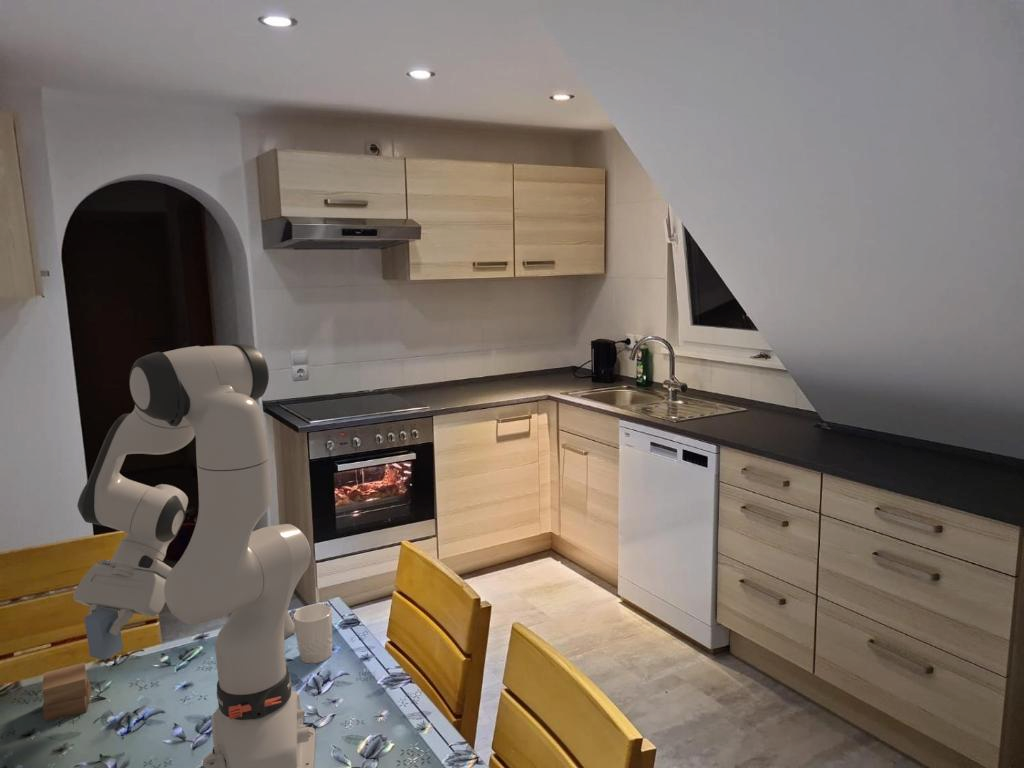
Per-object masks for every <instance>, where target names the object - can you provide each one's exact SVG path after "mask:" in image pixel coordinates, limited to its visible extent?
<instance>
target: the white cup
mask: <svg viewBox="0 0 1024 768" xmlns="http://www.w3.org/2000/svg"><path fill="white" fill-rule="evenodd" d="M332 615H333V614H332V608H331V607H330V606H329V605H327V604H323V603H321V604H320V603H319V604H318V603H316V604H315V603H314V604H309V605H305V606H303V607H302V606H301V607H300V608H299V609H297V610H296V611H295V612H294V613H293V622H294V623H295V636H296V641H297V643H296V644H297V647H298V651H299V658H300V660H301V662H303V663H305V664H318V663H321V662H325V661H327V660H328V659H329V658H330V657H332V654H333V619H332V618H333V617H332Z"/></svg>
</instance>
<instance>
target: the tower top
mask: <svg viewBox="0 0 1024 768" xmlns="http://www.w3.org/2000/svg"><path fill="white" fill-rule="evenodd" d="M85 663H86V662H84V661H83V662H81V663H77V664H72V665H70V666H65V667H62V668H57V669H54V670H50V671H46V672H43V678H42V687H41V692H42V697H43V698H42V699H43V703H44V705H45V707H47V706H51V705H54V704H58V703H62V702H65V701H69V700H73V699H76V698H80V697H84V696H87V679H88V677H87V669H86V664H85Z"/></svg>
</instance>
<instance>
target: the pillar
mask: <svg viewBox="0 0 1024 768" xmlns="http://www.w3.org/2000/svg"><path fill="white" fill-rule="evenodd" d="M118 617H119V611H117V610H111V609H105V608H102V609H100V610H98V611H96V612H94V613H92V614H90V615H89V614H88V615H87V616H85V617H83V619H84V626H85V627H86V628H85V627H84V628H85V632H86V639H87V643H88V651H89V657H90V658H94V659H100V660H105V661H106V660H108V659H110V658H111V657H113V656H115V655H116V654H118V653H119V652H121V651H123V650H124V645H123V644H124V643H123V639H122V633H121V632H122V631H121V630H122V629H120V631H119V633H118V635H111V634H108V633H106V629H107V628H108V625H109V623H113V622H114V621H115V620H116V619H117V618H118Z"/></svg>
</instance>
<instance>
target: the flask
mask: <svg viewBox="0 0 1024 768" xmlns="http://www.w3.org/2000/svg"><path fill="white" fill-rule="evenodd" d="M294 634H296V630H295V623H294V619H293V618H292V616H291V615H290V612H289V611H287V615H286V620H285V627H284V640H285V639H287V638H288V637H289V638H290V636H292V635H294Z"/></svg>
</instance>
